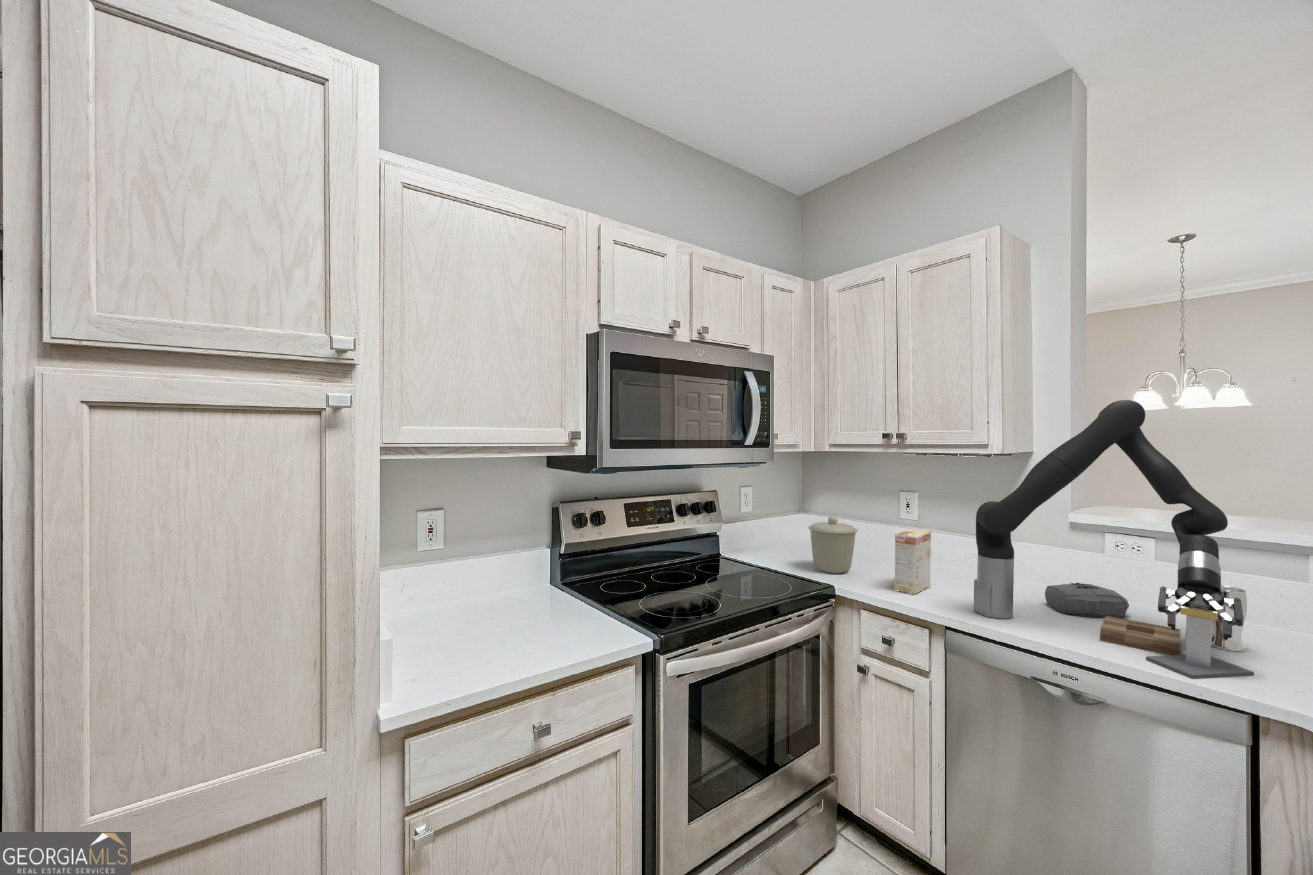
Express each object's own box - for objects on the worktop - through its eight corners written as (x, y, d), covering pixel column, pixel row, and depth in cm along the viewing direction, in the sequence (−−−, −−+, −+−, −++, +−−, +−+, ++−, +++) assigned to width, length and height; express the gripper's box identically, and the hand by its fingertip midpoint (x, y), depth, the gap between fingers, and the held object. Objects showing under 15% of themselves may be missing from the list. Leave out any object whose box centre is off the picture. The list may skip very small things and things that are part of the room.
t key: (1215, 664, 126) (1216, 610, 126) (1216, 670, 123) (1218, 614, 123) (1179, 657, 130) (1180, 604, 130) (1179, 662, 127) (1181, 608, 127)
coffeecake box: (910, 582, 196) (911, 528, 196) (931, 586, 191) (932, 531, 191) (893, 590, 185) (894, 533, 185) (915, 595, 180) (916, 536, 180)
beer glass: (1198, 641, 142) (1199, 584, 142) (1222, 641, 143) (1224, 584, 143) (1228, 652, 135) (1230, 592, 135) (1254, 652, 136) (1255, 592, 136)
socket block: (1179, 657, 132) (1180, 644, 132) (1100, 640, 142) (1100, 628, 142) (1179, 640, 143) (1179, 629, 143) (1105, 626, 153) (1105, 615, 153)
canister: (798, 569, 213) (799, 515, 213) (824, 562, 225) (825, 511, 224) (840, 579, 199) (841, 521, 199) (865, 571, 211) (866, 517, 211)
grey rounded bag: (1066, 617, 161) (1142, 622, 158) (1066, 589, 160) (1143, 593, 158) (1038, 602, 175) (1107, 605, 173) (1038, 576, 175) (1107, 579, 172)
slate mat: (1192, 678, 120) (1192, 674, 120) (1145, 659, 130) (1145, 656, 130) (1253, 675, 123) (1253, 671, 123) (1203, 657, 132) (1203, 653, 132)
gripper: (1159, 560, 137) (1157, 616, 129) (1242, 571, 127) (1245, 632, 119) (1159, 577, 141) (1157, 633, 133) (1240, 589, 131) (1243, 650, 123)
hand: (1199, 633), depth 126 cm, fingers open, 8 cm apart
